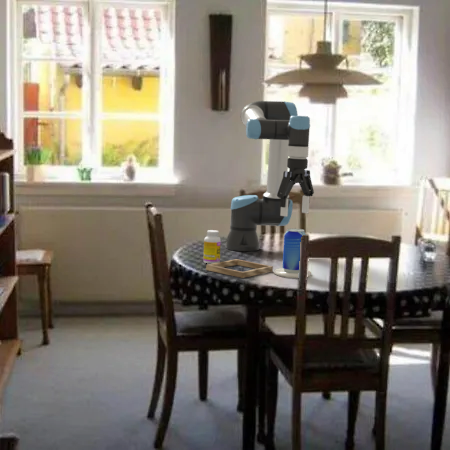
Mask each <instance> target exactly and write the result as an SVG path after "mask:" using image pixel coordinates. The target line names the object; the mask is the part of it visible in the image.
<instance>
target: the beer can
mask: <svg viewBox="0 0 450 450" xmlns="http://www.w3.org/2000/svg"><path fill="white" fill-rule="evenodd" d="M303 235H306V236H307V234H306V232H305V229H302V228H296V227H295V228H287V229H286V231H285V233H284V234H283V251H282V252H283V254H282V268H283V269H284V271H285V272H287V273H299V261H300V242H301V237H302V236H303Z"/></svg>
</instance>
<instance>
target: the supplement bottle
mask: <svg viewBox="0 0 450 450" xmlns="http://www.w3.org/2000/svg"><path fill="white" fill-rule="evenodd" d="M221 243H222V241H221V237H219V230H215V229H214V230H213V229H210V230H209V229H208V230H207V231H206V236H205V237H204V239H203V257H202V258H203V259H202V261H203V263H204V264H206V263H207V264H206V265H208V264H213V263H219V262H221V246H222V245H221Z"/></svg>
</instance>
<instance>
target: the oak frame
mask: <svg viewBox="0 0 450 450" xmlns="http://www.w3.org/2000/svg"><path fill="white" fill-rule="evenodd" d="M234 266H241V267H245V268H246V267H247V268H251V269H250V270H244V271H239V270H234V269H231V268H228V267H234ZM205 270H206V271H209V272H215V273H218V274H223V275H227V276H232V277H236V278H241V279H243V278H249V277H254V276H257V275H262V274H266V273H267V274H268V273H272V272H273V273H274V266H272V265H267V264H263V263H257V262H254V261H248V260H244V259H243V260H242V259H237V258H235V259H231V260H226V261H225V260H224V261H220V262H219V263H213V264H206V268H205Z"/></svg>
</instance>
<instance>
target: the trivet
mask: <svg viewBox="0 0 450 450" xmlns="http://www.w3.org/2000/svg"><path fill="white" fill-rule="evenodd" d="M273 274H274V276H278V277H281V278H288V279H299V278H298V273H287V272H285V271H284V269H283V267H281V268H275V269H273ZM310 277H312V272H311V271H310V270H308V277H307V278H310Z"/></svg>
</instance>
